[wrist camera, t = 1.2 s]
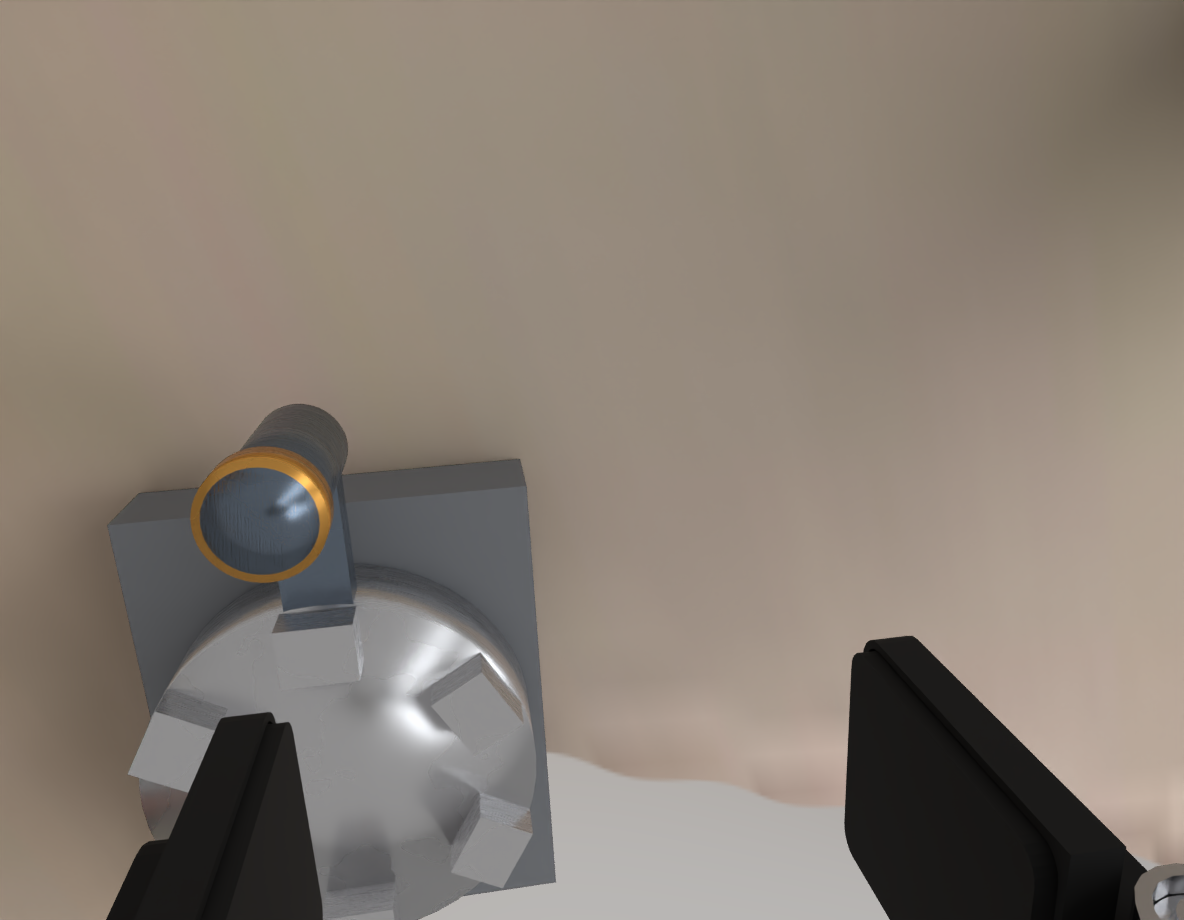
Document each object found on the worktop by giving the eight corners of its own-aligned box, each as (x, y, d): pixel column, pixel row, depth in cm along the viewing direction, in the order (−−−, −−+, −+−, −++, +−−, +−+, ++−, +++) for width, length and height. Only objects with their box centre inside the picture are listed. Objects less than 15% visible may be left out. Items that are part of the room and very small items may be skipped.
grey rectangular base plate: (520, 458, 33) (526, 487, 30) (547, 828, 37) (556, 885, 34) (138, 493, 31) (104, 527, 28) (219, 875, 36) (198, 939, 33)
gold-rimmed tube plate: (539, 844, 34) (564, 1031, 26) (203, 892, 32) (129, 1105, 25) (501, 368, 28) (519, 436, 21) (94, 399, 27) (-42, 484, 19)
